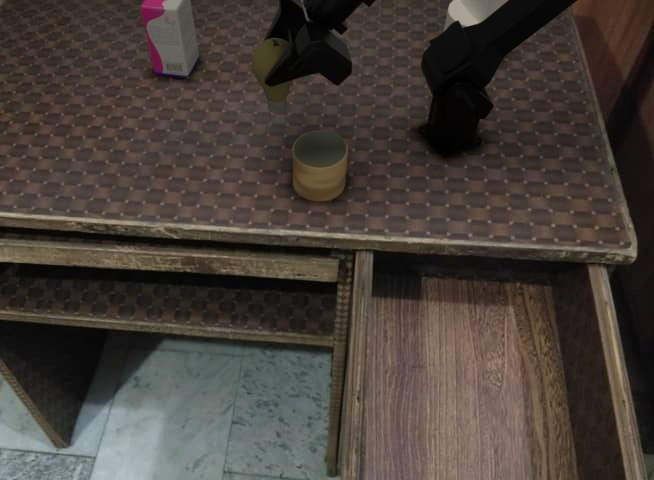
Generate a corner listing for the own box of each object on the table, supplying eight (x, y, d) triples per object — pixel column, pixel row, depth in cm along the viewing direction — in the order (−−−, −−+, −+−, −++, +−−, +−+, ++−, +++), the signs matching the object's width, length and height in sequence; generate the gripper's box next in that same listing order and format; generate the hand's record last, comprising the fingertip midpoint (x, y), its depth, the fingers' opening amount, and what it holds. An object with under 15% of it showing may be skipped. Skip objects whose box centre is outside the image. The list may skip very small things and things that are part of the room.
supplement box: (200, 57, 102) (190, -12, 93) (188, 79, 99) (176, 11, 90) (167, 53, 103) (153, -16, 94) (154, 75, 100) (138, 7, 91)
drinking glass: (431, 36, 101) (445, -39, 91) (483, 25, 102) (503, -52, 92) (456, 69, 96) (473, -7, 86) (511, 57, 97) (534, -20, 87)
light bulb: (308, 111, 81) (308, 41, 73) (275, 132, 79) (271, 63, 71) (280, 91, 84) (276, 21, 75) (247, 111, 82) (240, 42, 74)
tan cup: (355, 190, 84) (358, 156, 79) (307, 208, 82) (308, 175, 77) (329, 157, 87) (331, 123, 82) (284, 174, 86) (283, 140, 81)
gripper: (293, -127, 67) (205, -13, 77) (322, -37, 57) (216, 83, 66) (362, -61, 74) (273, 37, 83) (399, 31, 63) (293, 132, 72)
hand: (264, 68), depth 76 cm, fingers closed on light bulb, 5 cm apart
